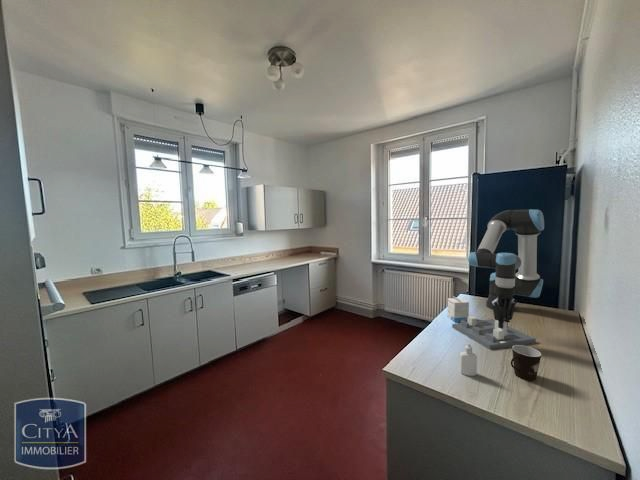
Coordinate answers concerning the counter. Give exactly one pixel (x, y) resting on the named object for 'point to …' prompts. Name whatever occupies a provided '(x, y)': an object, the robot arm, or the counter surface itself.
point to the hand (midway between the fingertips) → (502, 334)
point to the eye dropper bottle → (468, 362)
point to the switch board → (485, 334)
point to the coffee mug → (525, 362)
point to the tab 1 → (472, 321)
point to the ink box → (458, 309)
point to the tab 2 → (498, 333)
